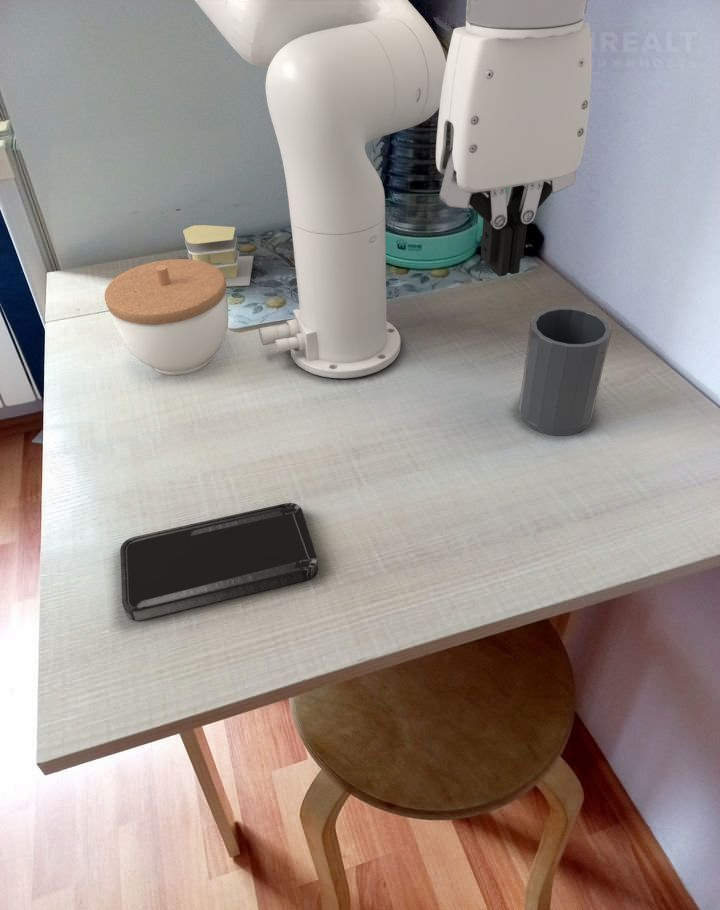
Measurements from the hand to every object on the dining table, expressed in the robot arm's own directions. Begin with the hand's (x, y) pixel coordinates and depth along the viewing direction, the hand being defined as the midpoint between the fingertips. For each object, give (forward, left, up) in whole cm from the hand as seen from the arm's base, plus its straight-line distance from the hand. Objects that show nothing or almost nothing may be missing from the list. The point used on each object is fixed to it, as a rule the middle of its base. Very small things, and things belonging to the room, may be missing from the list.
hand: (500, 267), depth 57 cm
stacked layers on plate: (-19, +44, -17) cm, 51 cm away
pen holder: (+8, 0, -17) cm, 19 cm away
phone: (-27, -8, -17) cm, 33 cm away
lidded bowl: (-26, +24, -17) cm, 40 cm away
